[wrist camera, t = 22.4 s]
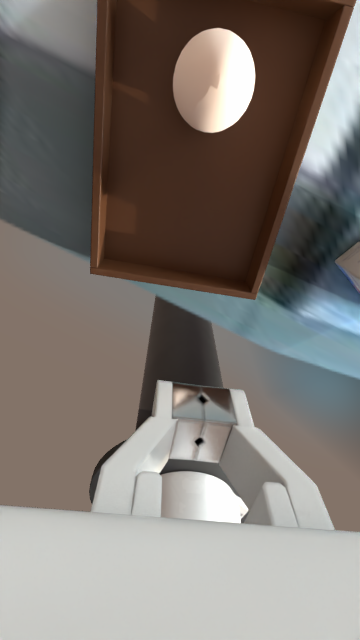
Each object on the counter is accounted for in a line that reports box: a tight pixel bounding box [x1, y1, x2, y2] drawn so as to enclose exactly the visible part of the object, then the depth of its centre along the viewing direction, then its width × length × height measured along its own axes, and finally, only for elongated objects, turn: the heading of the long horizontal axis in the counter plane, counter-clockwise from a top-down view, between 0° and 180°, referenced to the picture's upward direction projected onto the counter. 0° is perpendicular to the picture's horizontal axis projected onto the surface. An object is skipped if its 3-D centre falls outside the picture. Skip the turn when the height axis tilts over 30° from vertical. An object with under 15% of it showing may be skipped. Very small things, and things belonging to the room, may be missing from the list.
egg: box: [173, 28, 255, 133], centre depth 18 cm, size 5×5×7 cm
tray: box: [90, 0, 356, 300], centre depth 22 cm, size 19×14×3 cm
